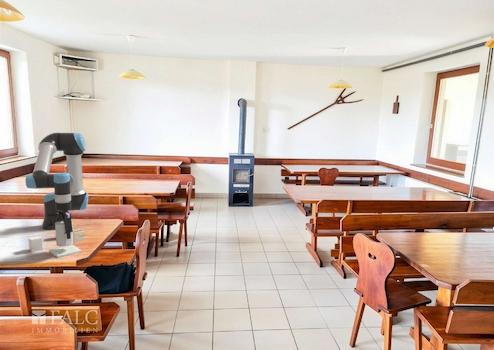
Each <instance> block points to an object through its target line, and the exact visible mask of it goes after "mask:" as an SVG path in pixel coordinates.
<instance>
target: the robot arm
mask: <svg viewBox="0 0 494 350" xmlns="http://www.w3.org/2000/svg"><path fill="white" fill-rule="evenodd" d="M85 141H86V139H85V137H84V135H83V134H82V133H79V132H53V133H52V132H51V133H50V134H48V135H46V136H44V138H42V140H41V141H40V142H39V144H38V154H37V158H36V162H35V165H34V169H33V171H32V174H27V175H26V177H25V186H26V188H27V189H31V190H32V189H35V190H36V189H39V190H40V189H54V191H53V192H50V193H46V194H45V195H44V196H43V210H44V218H43V221H42V224H41V225H42V229H43V230H56V228H55V223H56V222H58V221H59V222H61V221H63V222H64V224H65V233H64V234H65V245H68V246H69V244H71V232H73V230H74V228H73V229H72V221H73V220H72V214H71V213H70V212H71V211H83V210H84V211H85V210H87V208H88V203H89V192H87V190H86V189H85V188H84V180H83V166H82V164H83V163H82V155H83V154H84V152H86V149H87V147H86V142H85ZM56 152H63V155H64V156H65V157H66V166H67V167H66V169H67V172H55V173H54V174H50V171H51V167H52V162H53V158H54V154H56ZM69 211H70V212H69ZM71 245H72V244H71Z"/></svg>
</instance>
